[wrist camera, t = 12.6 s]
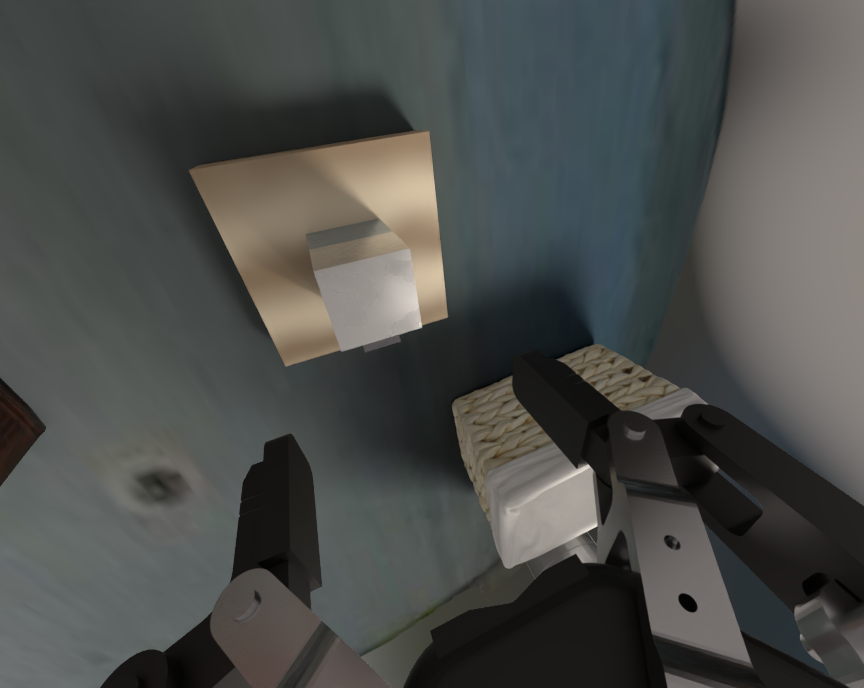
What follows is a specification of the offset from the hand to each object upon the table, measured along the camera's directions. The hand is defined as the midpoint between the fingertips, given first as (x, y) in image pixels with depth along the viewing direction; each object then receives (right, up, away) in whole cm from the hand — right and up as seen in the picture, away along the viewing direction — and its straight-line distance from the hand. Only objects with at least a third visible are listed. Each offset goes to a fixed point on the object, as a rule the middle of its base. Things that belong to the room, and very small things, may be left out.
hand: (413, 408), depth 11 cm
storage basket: (+13, -6, +34) cm, 37 cm away
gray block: (-5, +8, +12) cm, 15 cm away
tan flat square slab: (-6, +10, +14) cm, 18 cm away
